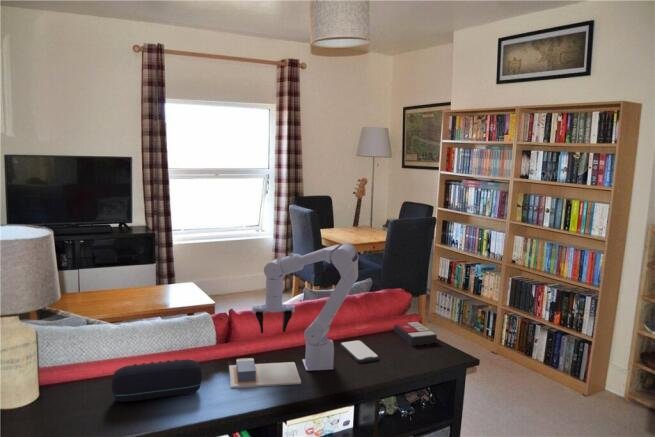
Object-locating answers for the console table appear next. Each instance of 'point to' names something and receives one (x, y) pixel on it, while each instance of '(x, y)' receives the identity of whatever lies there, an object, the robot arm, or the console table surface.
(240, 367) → the card deck
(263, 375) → the mat
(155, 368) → the portable speaker
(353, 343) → the phone case
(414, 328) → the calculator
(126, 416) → the console table surface
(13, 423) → the console table surface
